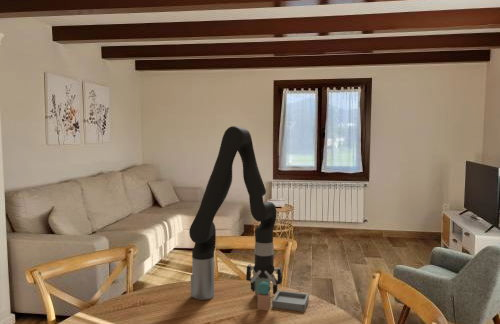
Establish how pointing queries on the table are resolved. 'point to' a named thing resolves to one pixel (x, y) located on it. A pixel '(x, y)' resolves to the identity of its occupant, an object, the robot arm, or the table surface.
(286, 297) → the tray
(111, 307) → the table surface
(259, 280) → the coffee cup
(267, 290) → the ball
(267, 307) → the pinkish brown block
